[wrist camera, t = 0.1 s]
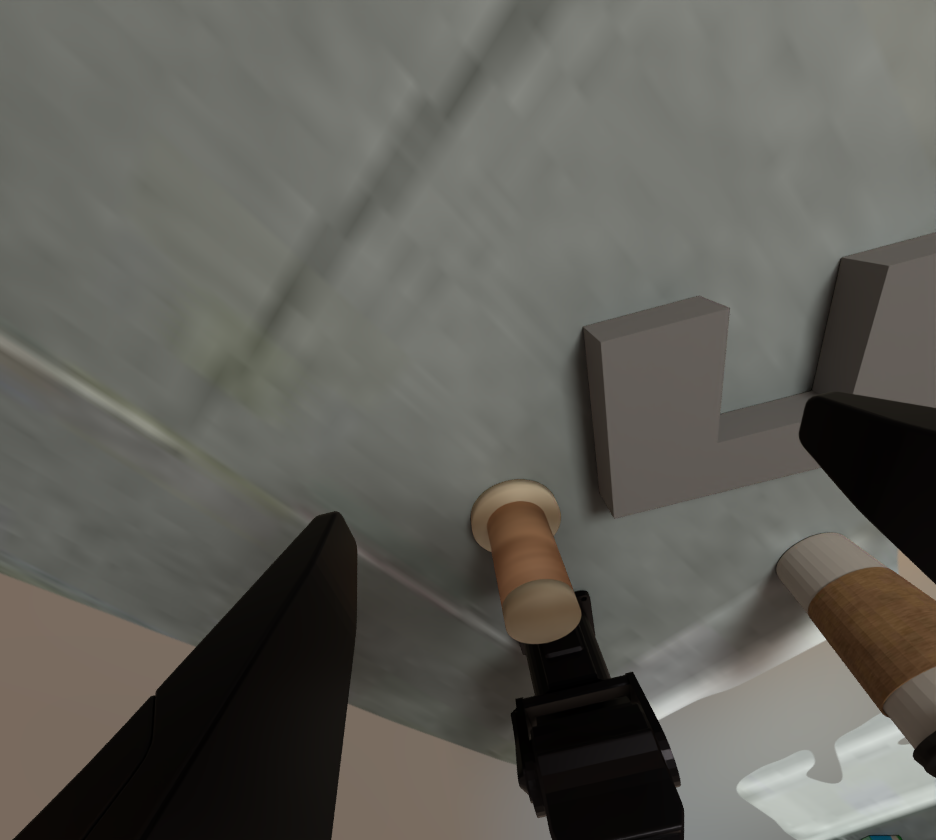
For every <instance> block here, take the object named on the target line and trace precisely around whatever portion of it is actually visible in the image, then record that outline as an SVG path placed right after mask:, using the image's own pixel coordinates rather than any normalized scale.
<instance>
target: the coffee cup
mask: <svg viewBox="0 0 936 840" xmlns="http://www.w3.org/2000/svg"><path fill="white" fill-rule="evenodd" d="M776 571H777V575H778V577H779V578H780V580H781V581H782V582H783V583H784V585H785V586H786V587H787V589H788V590H789V591H790V592H791V594H792V595H793V596H794V597H795V599H796V600H797V601H798V602H799V604H800V605H801V606H802V607H803V609H804V610H805V611H806V613H807V614H808V615H809V617H810V619H811V620H812V621H813V623H814V624H815V625H816V627H817V628H818V629H819V630H820V632H821V633H822V634H823V636H824V637H825V638H826V640H827V641H828V642H829V644H830V645H831V646H832V648H833V649H834V650H835V651H836V653H837V654H838V655H839V657H840V658H841V659H842V661H843V662H844V663H845V665H846V666H847V667H848V669H849V670H850V671H851V673H852V674H853V675H854V677H855V678H856V679H857V681H858V682H859V683H860V685H861V686H862V687H863V689H864V690H865V691H866V692H867V694H868V695H869V696H870V698H871V699H872V700H873V702H874V703H875V704H876V706H877V707H878V708H879V710H880V711H881V712H882V714H883V715H885V716H886V717H889V718H891V720H892V721H893V722H894V724H895V725H896V726H897V727H898V729H899V730H900V731H901V732H902V734H903V735H904V736H905V737H906V739H907V740H908V741H909V743H910V744H911V745H912V746H913V748H914V749H915V750H914V752H913V758H914V760H915V761H917V762H918V763H919V764H920V765H922V766H923V767H924V769H925V771H926V772H927V773H929V774H930V775H932V776H933V777H935V778H936V601H935V600H934V599H932V598H931V597H930V596H928V595H927V594H925V593H924V592H922V591H921V590H920V589H918V588H917V587H915V586H914V585H912V584H911V583H910V582H908V581H907V580H905V579H904V578H903V577H901V576H900V575H898V574H897V573H895V572H894V571H892V570H891V569H889V568H887V567H886V566H885V565H883V564H882V563H881V562H879V561H878V560H877V559H875V558H874V557H872V556H871V555H870V554H868V553H867V552H866V551H864V550H863V549H862V548H860V547H859V546H857V545H856V544H855V543H853V542H852V541H851V540H849V539H848V538H846V537H845V536H843V535H841V534H838V533H821V534H817V535H814V536H811V537H808V538H806V539H804V540H802V541H800V542H798V543H797V544H795V545H794V546H792V547H791V548H790V549H789V550H787V551H786V552H785V554H784V555H783V556H782V557H781V558H780V560H779V562H778V564H777V568H776Z"/></svg>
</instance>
